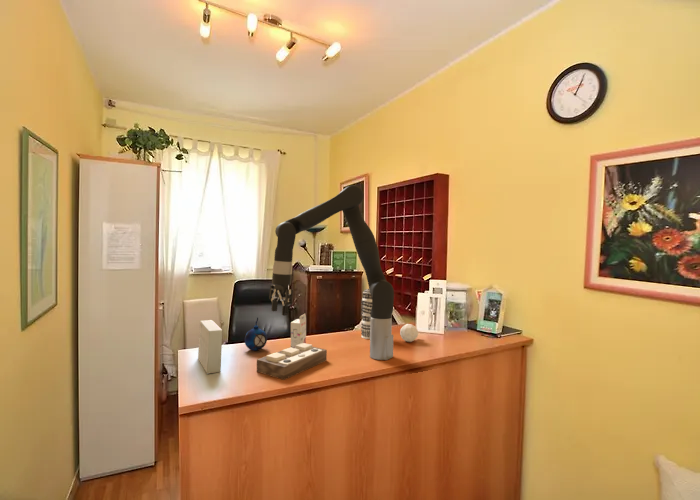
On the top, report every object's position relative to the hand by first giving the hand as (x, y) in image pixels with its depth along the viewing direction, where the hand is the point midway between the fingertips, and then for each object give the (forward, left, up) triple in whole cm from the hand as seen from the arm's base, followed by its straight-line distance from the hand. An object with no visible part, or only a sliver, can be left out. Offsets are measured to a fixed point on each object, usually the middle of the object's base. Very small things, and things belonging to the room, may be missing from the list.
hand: (279, 313), depth 137 cm
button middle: (-4, -2, -18) cm, 18 cm away
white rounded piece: (-29, -63, -21) cm, 73 cm away
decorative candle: (-8, -57, -21) cm, 62 cm away
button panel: (-5, -2, -21) cm, 21 cm away
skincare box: (+22, +16, -21) cm, 34 cm away
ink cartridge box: (+12, -24, -21) cm, 34 cm away
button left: (-4, +6, -18) cm, 19 cm away
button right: (-4, -10, -18) cm, 21 cm away
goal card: (-10, -2, -16) cm, 19 cm away
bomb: (+22, -7, -21) cm, 31 cm away
